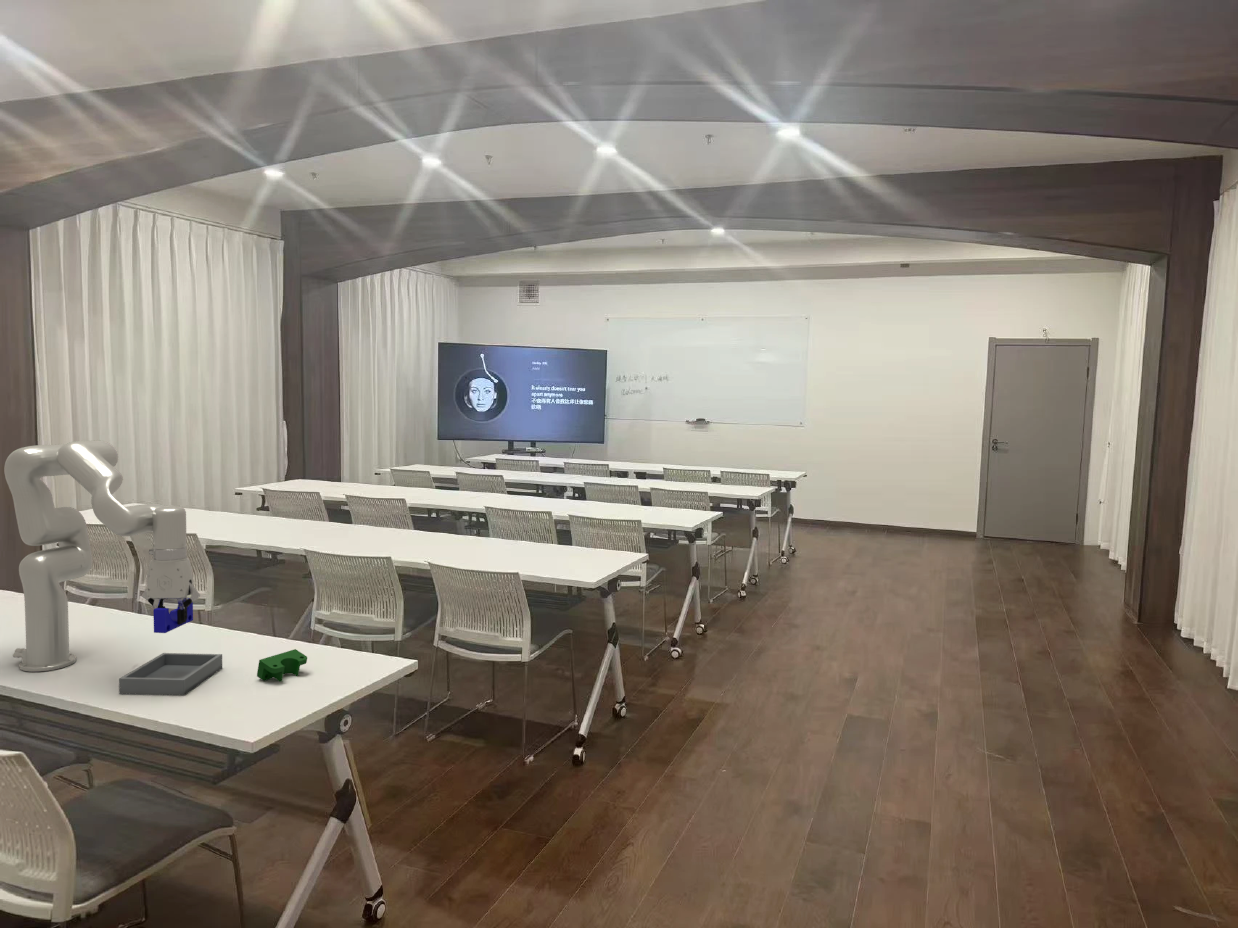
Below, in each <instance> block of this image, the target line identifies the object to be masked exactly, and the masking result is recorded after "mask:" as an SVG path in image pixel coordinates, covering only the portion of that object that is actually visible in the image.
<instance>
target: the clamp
mask: <svg viewBox="0 0 1238 928" xmlns="http://www.w3.org/2000/svg"><path fill="white" fill-rule="evenodd" d="M258 660H259V661H258V664H257V665H258V666H257V672H256V677H257V678H258V679H260V680H261V681H263V682H265V681H268V680H271V679H275V680H276V681H277V682H279V683H282V682H283V678H284V675H287V674H289V675H293V676H295V677H298V676H299V673H300V668H301V666H303V665H305V664H307V663H308V656H307V655H305V654H304V653H302V652H301V651H299V650H298V649H296V648H295V649H291V650H287V651H285V652H281V653H278V654H275V655H274V654H273V655H271V656H267V657H265V658H260V659H258Z"/></svg>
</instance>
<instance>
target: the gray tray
mask: <svg viewBox="0 0 1238 928" xmlns="http://www.w3.org/2000/svg"><path fill="white" fill-rule="evenodd" d="M222 669H223V654H222V653H188V652H187V653H181V652H162V653H161V654H158V655H157V656H155V657H154V658H152V659H150V660H149V661H147V662H145V663H143V664H142V665H140V666H138V667H137V668H134V669H133V670H132V671H129V672H127V673H126V674H124V675H123V676H121V677H120V678H118V690H119V691H118V695H131V696H132V695H133V696H135V695H137V696H138V695H140V696H142V695H143V696H178V697H179V696H183V697H184V696H186V695H187V694H189V693H190V692H192V691H193V690H194V689H196V688H197V687H199V686H200V685H201V684H203V683H205V681H208V679H210V678H211V677H212V676H214V675H215V674H216V673H218V672H219V671H221V670H222Z"/></svg>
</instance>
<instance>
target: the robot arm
mask: <svg viewBox="0 0 1238 928" xmlns="http://www.w3.org/2000/svg"><path fill="white" fill-rule="evenodd" d="M118 460H119V454H118V451H117V449H116V447H115V446H114V445H112V444H111V443H110V442H108V441H105V440H100V439H99V440H98V439H97V440H78V441H71V442H68V443H61V444H60V443H58V444H39V445H28V446H25V447H24V446H22V447H20V448H17V449H16V450H15V449H14V451H12V452H11V453H10V454H9V455H8V456H7V458H6V460H5V463H4V466H3V467H4V469H3V470H4V472H3V473H4V476H5V480H6V481H5V482H6V483H7V486H8V489H9V491H10V493H11V495H12V501H13V506H14V511H15V517H16V523H17V528H18V532H19V535H20V538H21V540H22V542H23V544H25V545H27V546H32V547H36V546H38V547H39V546H45V545H50V544H51V545H52V544H57V543H58V547H53V548H48V549H43V550H38V551H35V552H31V553H29V554H27V555H26V556H25V557H23V559H22V560H21V561H20V562H19V566H18V574H19V578H20V582H21V585H22V590H23V596H24V597H23V598H24V618H25V620H24V621H25V623H24V624H25V648H21V647H19V648H18V647H17V648H16V649H15V650H14V653H12V657H13V658H16V659H18V658H21V662H20V663H19V664H18V666H19V670H21V671H24V672H30V673H31V672H32V673H33V672H49V671H54V670H58V669H62V668H65V667H70V665H73V664H75V662H77V656H76V655H75V654H72V653H70V630H69V626H70V625H69V623H70V622H69V600H68V596H67V593H66V592H65V590H64V589H63V588H62V586H61V584H60V583H63V582H67V581H71V580H75V579H79V578H82V577H85V576H86V575H87V574H88V573H90V571H91V569H92V567H93V555H92V554H93V553H92V548H91V547H92V546H91V544H90V537H89V531H88V526H87V522H86V520H85V517H84V516H83V514H82V513H81V512H80V511H79V510H78V509H76V508H74V507H72V506H71V507H70V506H60V507H55V503H54V498H53V494H52V491H51V489H50V488H49V487H48V485H47V484H46V483H45V482H44V481H43V480H41V478H44V477H45V478H46V477H56V476H66V475H67V476H70V477H71V478H73V480H75V482H77V483H78V484H80V485H81V486H82V487H83V488H84V489H85V491H87V492H88V494H90V495H91V498H90V499H91V500H90V503H91V509H92V511H93V513H94V516H95V517H96V519H97V520H99V522H100V523H101V524H103V525H104V526H105V527H106V528H107V529H108V530H109V531H111V532H112V533H114V534H116V535H118V536H119V537H120V536H121V537H133V536H136V535H142V534H149V533H152V545H153V547H152V548H151V549H149V550H148V555H152V558H153V559H150V560H149V565H148V568H147V574H146V589H145V590H144V591H143V592H142V594H141V597H142V598H143V599H144V600H145V601H148V603H149V604H150V605H151V606H152V608H153V609H156V608H166V606H164V603H165V600H176V602H177V606H178V605H179V610H177V624H178V625H181V624H183V623H185V622H186V620H187V607H189V605H190V604H191V603H192V602H193V603H194V602H195V601H196V600H198V599H199V598H200V597H201V594H200V593H199V591H198V590H197V589H196V587H194V576H193V568H192V564H191V560H190V558H189V557H188V553H187V552H188V550H187V548H188V546H187V511H186V509H185V508H184V507H183V506H180V505H179V506H177V505H165V504H161V503H154V502H153V503H144V504H143V503H142V504H136V505H130V506H124V505H123V504H122V503H121V502H120V501H119V500H118V499H116V498H115V496H114V494H115V493H116V492H117V490H119V489H120V487H121V486H122V484H123V480H124V479H123V475H122V473H121V472H120V471H119V470H118V469H116V468H115V466H116V465H117V463H118ZM188 596H190V597H188ZM188 598H189V599H188Z"/></svg>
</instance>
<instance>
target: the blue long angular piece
mask: <svg viewBox="0 0 1238 928" xmlns="http://www.w3.org/2000/svg"><path fill="white" fill-rule="evenodd" d="M187 598H188V599H189V598H190V597H187ZM152 610H153V612H152V613H153V633H154V634H167V633H169V632H171V631H173V630H176V629H177V628H180V627H182V626H184V625H186V624H188V623H190V622H192V621H194V601H193V602H192V603H191V604H190V605H189V607H187V620H186V622H185V623H183V624H181V625H178V624H177V610H179V605H178V604H177V607H176V608H174V609H173V610H170V608H168V607H167V608H166V607H165V608H156V609H154V608H153V609H152Z"/></svg>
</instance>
